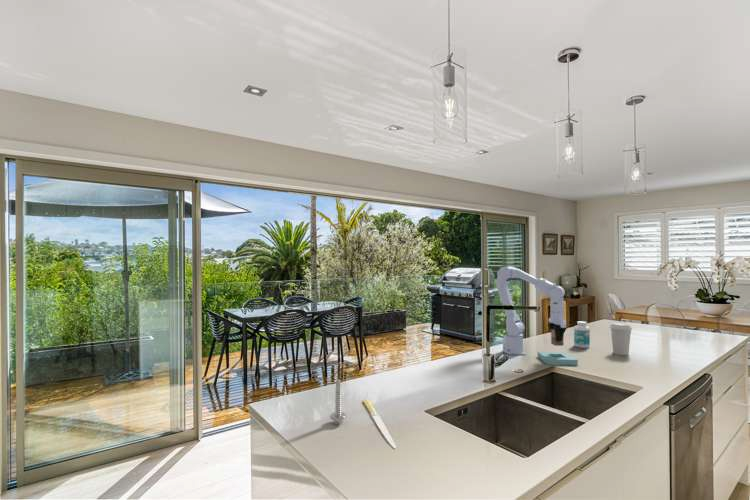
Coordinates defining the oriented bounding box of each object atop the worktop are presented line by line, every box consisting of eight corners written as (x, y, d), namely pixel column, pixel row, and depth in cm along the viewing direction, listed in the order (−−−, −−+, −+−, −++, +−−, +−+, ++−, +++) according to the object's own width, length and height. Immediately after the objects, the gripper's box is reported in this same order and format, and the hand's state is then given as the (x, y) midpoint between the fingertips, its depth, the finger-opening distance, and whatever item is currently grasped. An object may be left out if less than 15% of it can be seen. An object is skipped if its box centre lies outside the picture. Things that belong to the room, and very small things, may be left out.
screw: (326, 423, 113) (338, 417, 117) (338, 428, 110) (349, 422, 114) (326, 379, 113) (338, 375, 117) (338, 383, 110) (349, 379, 114)
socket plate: (548, 364, 172) (548, 359, 172) (537, 356, 185) (537, 351, 185) (577, 365, 172) (577, 359, 172) (564, 357, 185) (564, 352, 185)
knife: (406, 451, 99) (390, 450, 98) (374, 402, 131) (361, 401, 130) (407, 446, 99) (390, 445, 98) (375, 398, 131) (362, 397, 130)
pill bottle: (571, 345, 207) (571, 321, 207) (580, 344, 210) (580, 320, 211) (583, 349, 201) (583, 323, 201) (592, 347, 204) (592, 322, 204)
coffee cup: (613, 355, 189) (613, 325, 189) (607, 350, 198) (607, 321, 198) (635, 356, 186) (635, 326, 186) (628, 351, 195) (628, 322, 195)
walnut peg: (554, 345, 178) (554, 330, 178) (551, 343, 182) (551, 328, 182) (563, 345, 178) (563, 330, 178) (559, 343, 182) (559, 328, 182)
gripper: (572, 314, 173) (572, 343, 173) (559, 309, 187) (559, 336, 187) (556, 313, 173) (556, 343, 173) (544, 309, 188) (544, 336, 188)
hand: (557, 340), depth 180 cm, fingers closed on walnut peg, 4 cm apart
